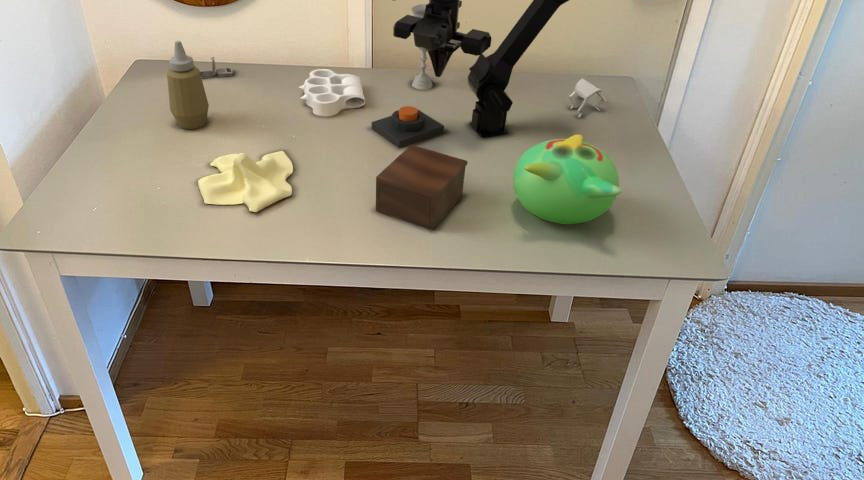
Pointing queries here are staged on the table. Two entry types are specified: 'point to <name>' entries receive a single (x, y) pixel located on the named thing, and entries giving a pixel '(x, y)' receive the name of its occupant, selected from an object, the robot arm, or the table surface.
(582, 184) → the toy bird
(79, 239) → the table surface
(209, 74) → the strap clip
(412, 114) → the button
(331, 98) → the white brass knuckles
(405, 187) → the lid
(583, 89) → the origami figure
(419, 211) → the tea box
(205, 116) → the squeeze bottle
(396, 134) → the button block
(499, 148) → the table surface
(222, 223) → the table surface
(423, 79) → the chalice
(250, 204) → the cloth
